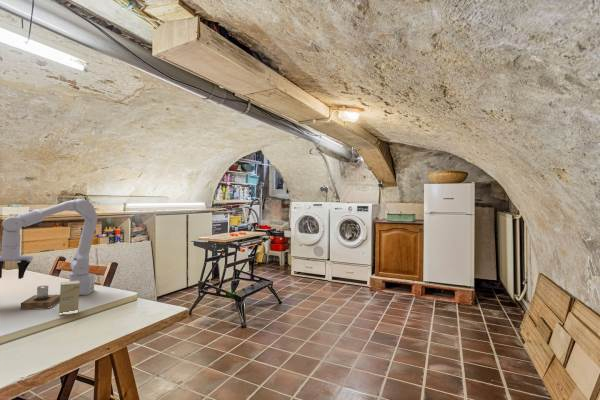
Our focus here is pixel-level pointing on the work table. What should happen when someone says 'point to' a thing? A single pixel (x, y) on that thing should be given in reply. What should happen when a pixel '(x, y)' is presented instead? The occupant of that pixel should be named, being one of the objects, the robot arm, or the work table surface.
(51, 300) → the socket block
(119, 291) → the work table surface
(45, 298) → the pin
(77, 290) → the skincare box
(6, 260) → the robot arm
